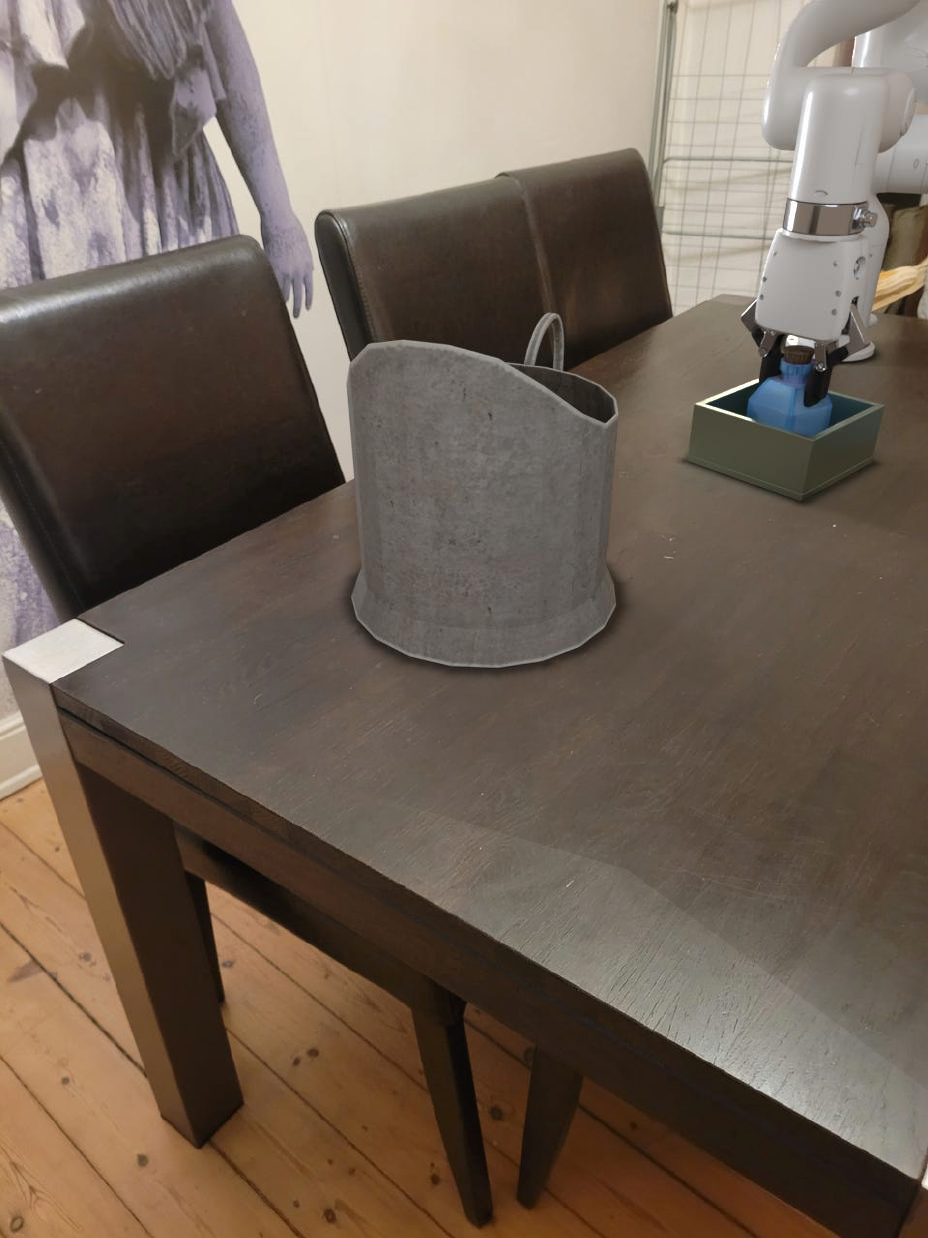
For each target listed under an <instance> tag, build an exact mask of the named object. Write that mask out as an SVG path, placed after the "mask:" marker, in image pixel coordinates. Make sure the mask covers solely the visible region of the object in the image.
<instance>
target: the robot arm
mask: <svg viewBox="0 0 928 1238" xmlns="http://www.w3.org/2000/svg"><path fill="white" fill-rule="evenodd" d="M852 39H855V40H854V46H853V52H852V58H851V65H850V66H808V65H810V63H811V62H813V60H815V59H816V58H817V57H818V56H820V55H821V54H823V53H824V52H825V51H827V50H829V49H831V48H833V47H835V46H837V45H839V44H841V43H844V42H846V41H848V40H852ZM917 104H928V0H808V2H806V4H805V5H803V7H802V8H801V9H800V10H799V11H798V12H797V14H795V16H794V17H793V19H791V21H790V23H789V24H788V26H787V27H786V30H785V31H784V33H783V34H782V37H781V38H780V41H779V44H778V46H777V50H776V53H775V57H774V61H773V64H772V67H771V70H770V75H769V77H768V81H767V85H766V88H765V93H764V98H763V102H762V108H761V115H760V127H761V133H762V137H763V139H764V141H765V142H766V143H767V144H768V145H769V146H770V147H772V148H774V149H776V150H779V151H788V152H789V151H790V152H793V159H792V165H791V171H790V176H789V177H790V178H789V184H788V189H787V195H786V196H787V197H786V203H785V209H784V215H783V222H782V227H781V228H777V230H776V232H775V234H774V237H773V239H772V242H771V245H770V247H769V249H768V253H767V256H766V258H765V259H766V260H765V263H764V267H763V270H762V274H761V279H760V282H759V287H758V292H757V298H756V299H755V301H754V302H753V303H752V304H751V305H750V306H749V307H748V308H747V309H746V310H745V311H744V312H743V313H742V314H741V316H740V321H741V323H742V324H743V325H744V326H745V328H746V329H747V331H748V332H750V335H751V337H752V339H753V341H754V343H755V345H756V346H757V348H758V350H757V353H758V355H759V356H760V357H761V363H760V368H759V373H758V374H759V375H758V378H759V383H760V386H761V385H762V384H763V383H764V382H765V380H766V379H767V378H770V377H774V376H778V375H781V374H782V371H781V370H780V363H781V359H782V358H783V357H785V352H782V349H783V346H784V344H785V347H786V346H790V345H804V346H809V347H812V348H814V352H815V353H814V356H813V358H812V359H813V360H814V361H815V364H814V369H812V370H810V371H809V373H808V379H807V384H806V389H805V394H804V399H803V402H804V406H805V407H811V406H814V405H816V404H818V403H819V402H820V401H821V400H822V399H824V398H825V397H826V396H827V394H828V390H830V384H831V379H832V374H833V369H834V368H835V367H836V366H838V365H839V364H840V363H843V362H845V363H847V362H858V361H862V360H866V359H868V358H870V357H872V356H873V354H874V353H875V349H876V346H875V344H874V343H873V342H872V341H871V338H870V336H869V334H868V329H871V328H873V327H875V326H877V324H878V317H877V315H876V314H873V313H872V311H873V307H874V302H875V297H876V292H877V290H878V289H877V288H878V284H879V280H880V275H881V270H882V267H883V262H884V258H885V254H886V253H885V252H886V248H887V245H888V244H887V243H888V241H889V240H888V238H889V234H890V221H889V216H888V214H887V213H886V211H885V209H884V207H883V205H882V204H881V202H880V200H879V198H878V197H877V194H880V193H881V194H882V193H883V194H884V193H885V194H886V193H896V194H916V195H917V194H919V195H928V113H920V112H919V113H918V112H917V113H916V112H915V111H916V106H917ZM760 386H759V387H760Z"/></svg>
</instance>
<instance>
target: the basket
mask: <svg viewBox="0 0 928 1238" xmlns="http://www.w3.org/2000/svg"><path fill="white" fill-rule="evenodd" d="M759 386H760V383H759V377H758V378H756V379H754V380H751V381H748V382H746V383H743V384H741V385H738V386H736V387H733V388H730V389H729V390H725V391H723V392H721V393H718V394H715V395H713V396H710V397H709V398H705V399H703V400H701V401H698V402H696V403H694V406H693V412H692V413H693V414H692V419H691V420H692V421H691V429H690V436H689V444H688V453H687V459H686V461H687V462H689V463H691V464H692V463H693V464H695V465H698V466H701V467H703V468H705V469H708V470H711V471H714V472H718V473H720V474H722V475H725V476H729V477H730V478H731V477H732V478H734V479H737V480H739V481H742V482H745V483H747V484H751V485H752V486H753V485H754V486H756V487H759V488H762V489H765V490H767V491H770V492H772V493H776V494H778V495H782V496H785V497H787V498H790V499H793V500H796V501H798V502H804V501H806V500H807V499H809V498H810V497H813V496H814V495H816V494H818V493H819V492H822V491H823V490H825V489H827V488H829V487H830V486H832V485H834V484H836V483H838V482H839V481H841V480H843V479H845V478H847V477H848V476H850V475H852V474H853V473H856V472H858V471H859V470H861V469H863V468H864V467H867V466H868V465H870V464H872V462H873V457H874V453H875V448H876V445H877V441H878V437H879V434H880V430H881V429H880V428H881V425H882V420H883V416H884V412H885V408H886V404H883V403H877V402H875V401H871V400H867V399H863V398H859V397H855V396H851V395H849V394H844V393H841V392H837V391H833V390H830V389H828V397H829V399H830V401H831V403H832V410H831V414H830V419H829V424H828V429H826V430H824V431H821V432H819V433H817V434H815V435H813V436H808V435H804V434H801V433H798V432H794V431H791V430H788V429H785V428H781V427H778V426H775V425H771V424H768V423H765V422H762V421H758V420H755V419H752V418H749V417H746V416H747V409H748V403H749V399H750V397H751V396H752V395H753V394H754V393H755V392H756V390H757V389H758V388H759Z"/></svg>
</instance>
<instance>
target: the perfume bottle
mask: <svg viewBox="0 0 928 1238" xmlns="http://www.w3.org/2000/svg"><path fill="white" fill-rule="evenodd" d="M814 353H815V352H814V348H812V347H809V346H804V345H790V346H786V345H785V347H784V356H785V357H783V358H782V359H781V363H780V370H781V371H782V374H781V375H778V376H774V377H770V378H767V379H766V380H765V382H764V383H763V384H762V385H761V386H760V387H759V388H758V389H757V390H756V392H755V393H754V394H753V395H752V396H751V397H750V399H749V403H748V409H747V416H746V417H749V418H752V419H755V420H758V421H762V422H765V423H768V424H771V425H775V426H778V427H781V428H785V429H788V430H791V431H794V432H798V433H801V434H804V435H808V436H813V435H815V434H817V433H819V432H821V431H824V430H826V429H828V424H829V419H830V414H831V410H832V403H831V401H830V399H829V397H828V394H827V396H826V397H825V398H824V399H822V400H821V401H820V402H819V403H818V404H816V405H814V406H811V407H805V406H804V402H803V399H804V394H805V389H806V384H807V379H808V373H809V371H810V370H812V369H814V368H815V359H812V358H813V356H814Z"/></svg>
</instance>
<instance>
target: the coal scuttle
mask: <svg viewBox="0 0 928 1238" xmlns="http://www.w3.org/2000/svg"><path fill="white" fill-rule="evenodd" d="M550 325H551V327H552V332H553V364H552V368H551V367H548V366H541V365H536V360H537V356H538V353H539V349H540V346H541V343H542V341H543V339H544V336H545V333H546V331H547V329H548V328H549V326H550ZM564 333H565V332H564V325H563V321H562V318H561V316H560V315H559V314H558V313H554V312H547V313H545V314H544V315H543V316H542V317H541V318H540V319H539V321H538V323H537V324H536V326H535V328H534V330H533V332H532V335H531V338H530V340H529V342H528V346H527V349H526V353H525V357H524V361H523V363H516V362H505V361H503V360H502V359H500V358H498V357H496V356H495V357H494V356H491V355H487V354H484V353H480V352H477V351H473V350H469V349H466V348H462V347H458V346H455V345H450V344H445V343H435V342H427V341H419V340H410V339H398V340H397V339H396V340H391V341H382V342H371V343H368V344H367V345H366V346H365V347H364V348H363V349H361V351H360V352H359V353H358V354H357V356H355V358H353V360H351V362H350V363H349V365H348V371H347V377H346V383H345V384H346V395H347V396H346V397H347V398H346V399H347V408H348V410H347V411H348V421H349V432H350V445H351V457H352V467H353V470H352V471H353V480H354V481H353V483H354V495H355V505H356V516H357V518H356V519H357V528H358V529H357V531H358V541H359V553H360V566H361V568H360V570H359V573H358V575H357V578H356V582H355V584H354V588H353V590H352V592H351V596H350V598H351V602H352V605H353V609H354V613H355V617H356V620H357V621H358V622H359V623H360V624H361V625H362V626H363V627H364V628H365V629H366V630H367V631H368V633H370V635H371V636H372V637H373V638H374V639H375V640H376V641H378V642H380V643H382V644H384V645H386V646H388V647H390V648H392V649H394V650H396V651H397V652H400V653H402V654H404V655H406V656H408V657H409V658H410V657H411V658H415V659H419V660H423V661H427V662H432V663H435V664H441V665H444V666H449V667H459V668H460V667H461V668H488V669H489V668H491V669H500V668H506V667H512V666H520V665H525V664H532V663H539V662H544V661H546V660H549V659H552V658H554V657H557V656H560V655H562V654H564V653H567V652H570V651H573V650H576V649H578V648H580V647H581V646H583V645H584V644H585V643H587V642H588V641H589V640H590V639H592V638H593V637H594V636H596V635H597V634H598V633H600V632H601V631H602V630H604V629H605V627H606V626H607V624H608V621H609V620H610V617H611V616H612V614H613V612H614V610H615V608H616V606H617V602H616V593H615V584H614V581H613V578H612V576H611V572H610V571H609V568H608V566H607V558H608V547H609V535H610V524H611V523H610V522H611V513H612V512H611V509H612V501H613V500H612V498H613V487H614V486H613V485H614V474H615V463H616V462H615V461H616V450H617V437H618V426H619V408H618V402H617V399H616V398H615V397H614V396H613V395H612V393H610V392H609V391H608V390H606V388H605V387H603V386H602V385H601V384H599V383H597V382H595V381H592V380H590V379H588V378H585V377H583V376H581V375H578V374H576V373H573V372H568V371H564V357H565V356H564V354H565V352H564V351H565V334H564Z"/></svg>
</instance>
